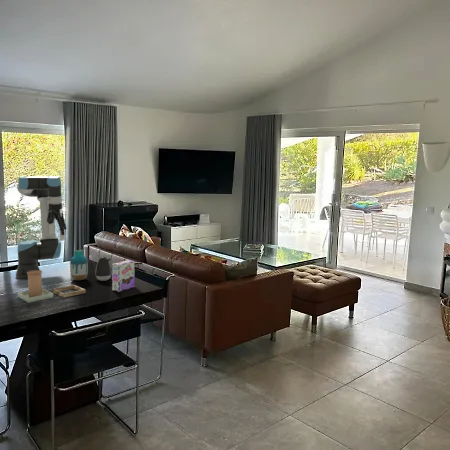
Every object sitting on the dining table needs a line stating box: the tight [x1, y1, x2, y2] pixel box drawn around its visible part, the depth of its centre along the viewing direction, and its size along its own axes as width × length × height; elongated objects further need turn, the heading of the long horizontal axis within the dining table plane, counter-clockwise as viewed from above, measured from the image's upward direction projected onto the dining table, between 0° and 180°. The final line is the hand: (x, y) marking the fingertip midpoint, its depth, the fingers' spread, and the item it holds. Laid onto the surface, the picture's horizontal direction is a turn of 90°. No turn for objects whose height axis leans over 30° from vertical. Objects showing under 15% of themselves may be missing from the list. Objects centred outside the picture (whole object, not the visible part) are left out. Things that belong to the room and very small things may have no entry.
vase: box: [69, 249, 89, 281], centre depth 289 cm, size 11×11×19 cm
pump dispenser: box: [95, 256, 112, 282], centre depth 292 cm, size 10×10×15 cm
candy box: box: [111, 259, 136, 293], centre depth 272 cm, size 14×6×16 cm, turn 148°
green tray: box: [17, 287, 54, 304], centre depth 253 cm, size 14×14×2 cm
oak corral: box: [52, 284, 87, 298], centre depth 263 cm, size 14×14×2 cm
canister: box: [27, 269, 43, 297], centre depth 252 cm, size 8×8×14 cm
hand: (57, 236), depth 271 cm, fingers open, 13 cm apart
